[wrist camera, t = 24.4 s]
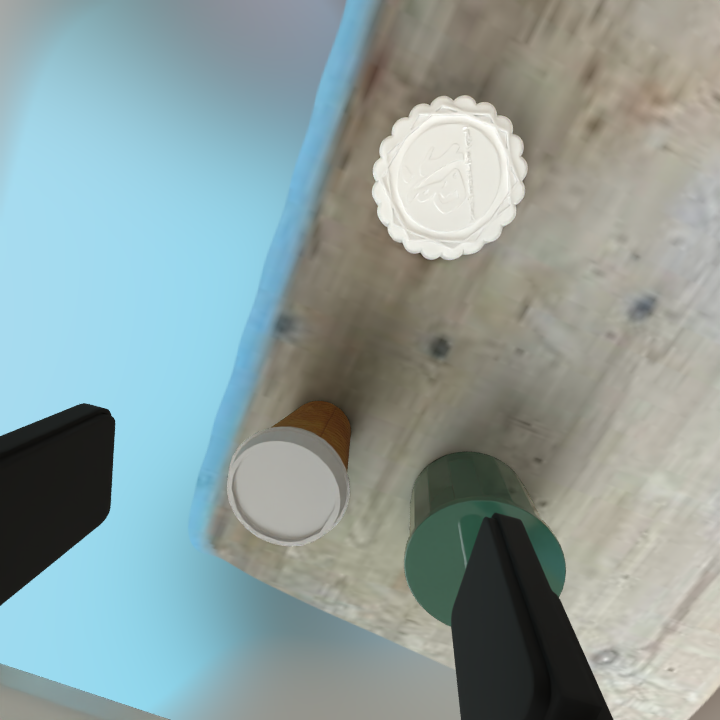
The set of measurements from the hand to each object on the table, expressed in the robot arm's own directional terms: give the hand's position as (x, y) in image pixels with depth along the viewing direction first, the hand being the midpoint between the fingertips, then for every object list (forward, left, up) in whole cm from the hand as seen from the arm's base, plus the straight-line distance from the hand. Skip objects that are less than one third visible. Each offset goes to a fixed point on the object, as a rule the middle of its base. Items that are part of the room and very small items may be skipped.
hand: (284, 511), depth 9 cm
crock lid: (-5, +19, -20) cm, 28 cm away
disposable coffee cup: (+8, +9, -28) cm, 31 cm away
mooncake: (-8, -11, -28) cm, 32 cm away
